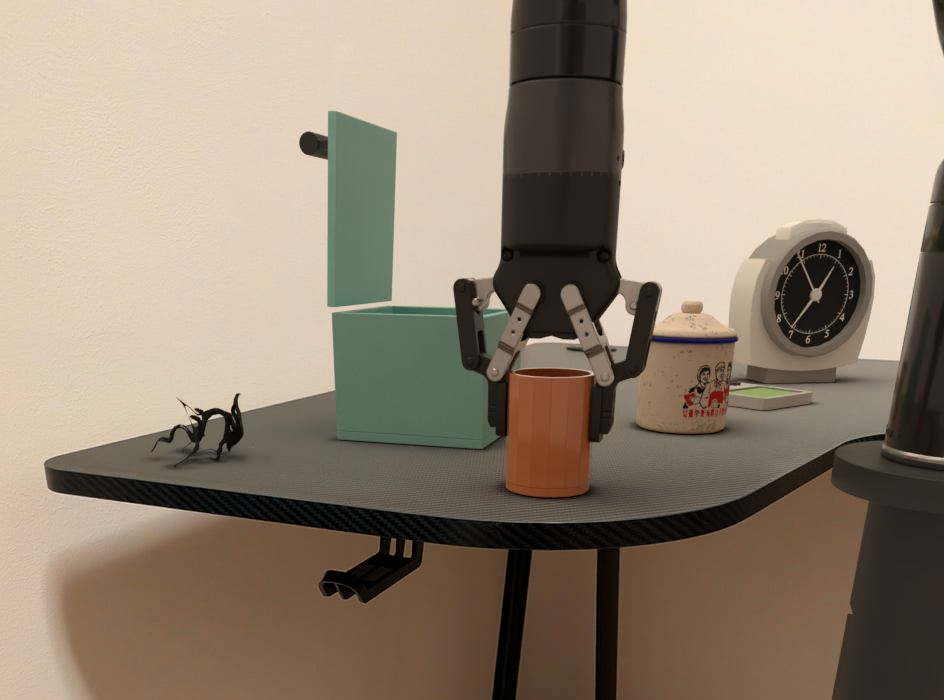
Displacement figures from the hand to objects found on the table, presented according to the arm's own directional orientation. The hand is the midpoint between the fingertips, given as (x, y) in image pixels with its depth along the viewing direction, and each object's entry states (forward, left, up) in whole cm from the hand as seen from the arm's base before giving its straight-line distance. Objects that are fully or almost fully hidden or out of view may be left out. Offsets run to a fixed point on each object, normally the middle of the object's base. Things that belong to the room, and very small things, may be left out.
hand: (549, 436), depth 64 cm
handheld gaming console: (-12, -52, -4) cm, 53 cm away
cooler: (+15, -19, -4) cm, 25 cm away
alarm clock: (-19, -74, -4) cm, 76 cm away
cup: (0, 0, -4) cm, 4 cm away
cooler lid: (+21, -19, +15) cm, 32 cm away
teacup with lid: (-8, -31, -4) cm, 32 cm away
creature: (+29, -1, -4) cm, 29 cm away
